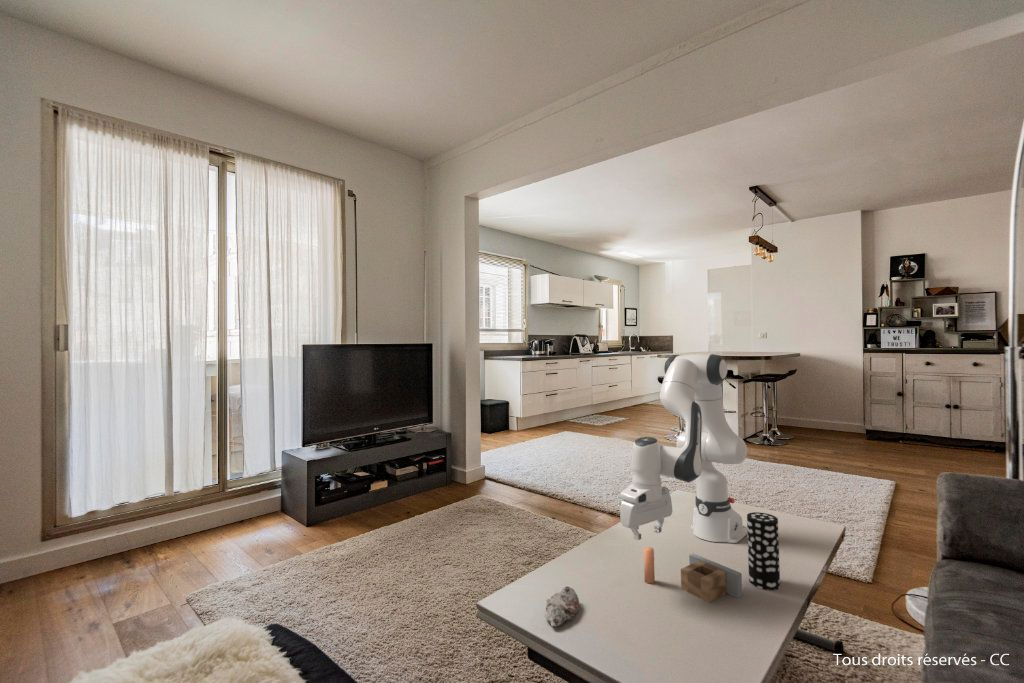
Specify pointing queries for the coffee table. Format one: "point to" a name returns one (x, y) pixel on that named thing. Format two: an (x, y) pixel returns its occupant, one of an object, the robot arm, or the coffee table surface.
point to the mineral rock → (562, 606)
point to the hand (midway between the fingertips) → (647, 535)
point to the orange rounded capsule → (649, 565)
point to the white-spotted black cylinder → (763, 551)
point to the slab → (731, 575)
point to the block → (703, 581)
